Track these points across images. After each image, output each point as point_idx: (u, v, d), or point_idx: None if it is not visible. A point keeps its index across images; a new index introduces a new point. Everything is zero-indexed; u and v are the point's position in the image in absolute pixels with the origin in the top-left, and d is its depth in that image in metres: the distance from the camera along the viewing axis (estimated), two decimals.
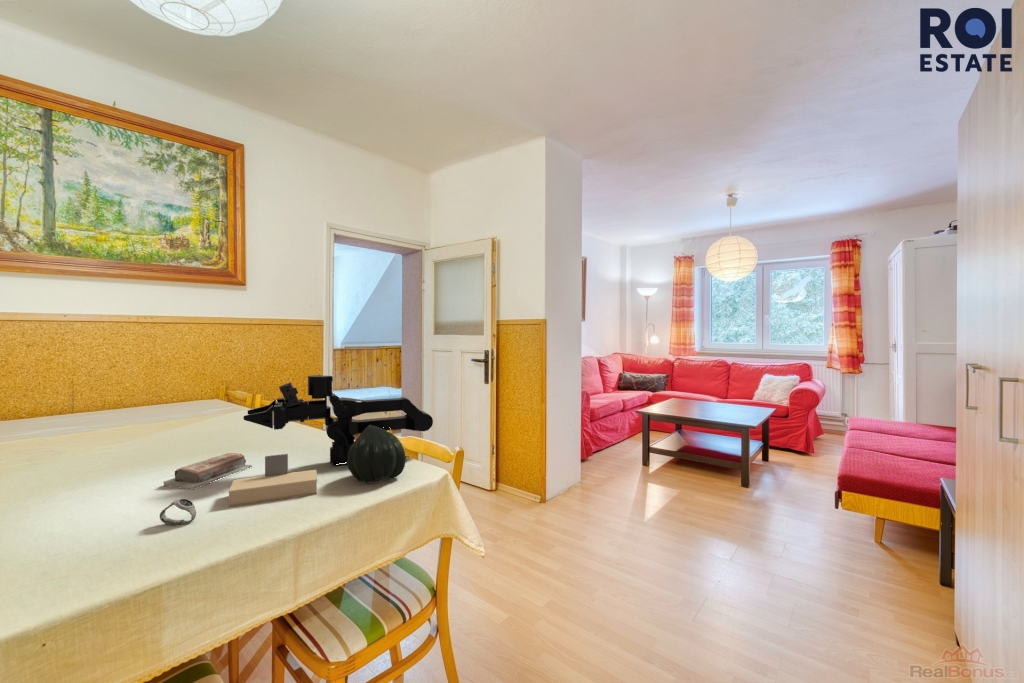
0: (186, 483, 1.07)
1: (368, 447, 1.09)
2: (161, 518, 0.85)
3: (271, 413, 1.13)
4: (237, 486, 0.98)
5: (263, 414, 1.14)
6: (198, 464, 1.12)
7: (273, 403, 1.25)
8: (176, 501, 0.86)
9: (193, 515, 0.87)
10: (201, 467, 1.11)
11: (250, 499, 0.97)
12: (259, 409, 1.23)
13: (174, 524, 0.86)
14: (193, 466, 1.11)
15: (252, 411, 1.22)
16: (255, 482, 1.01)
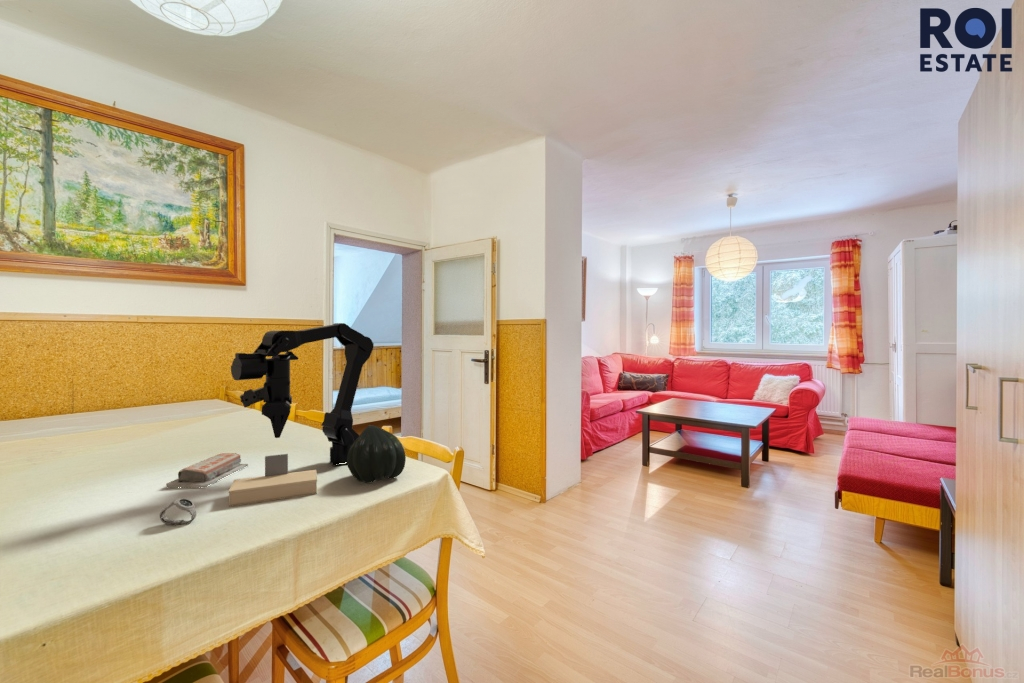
0: (193, 483, 1.08)
1: (368, 447, 1.09)
2: (161, 518, 0.85)
3: (271, 414, 1.06)
4: (237, 486, 0.98)
5: (273, 421, 1.08)
6: (200, 464, 1.12)
7: None
8: (176, 501, 0.86)
9: (193, 515, 0.87)
10: (206, 467, 1.11)
11: (250, 499, 0.97)
12: None
13: (174, 524, 0.86)
14: (196, 466, 1.11)
15: None
16: (255, 482, 1.01)
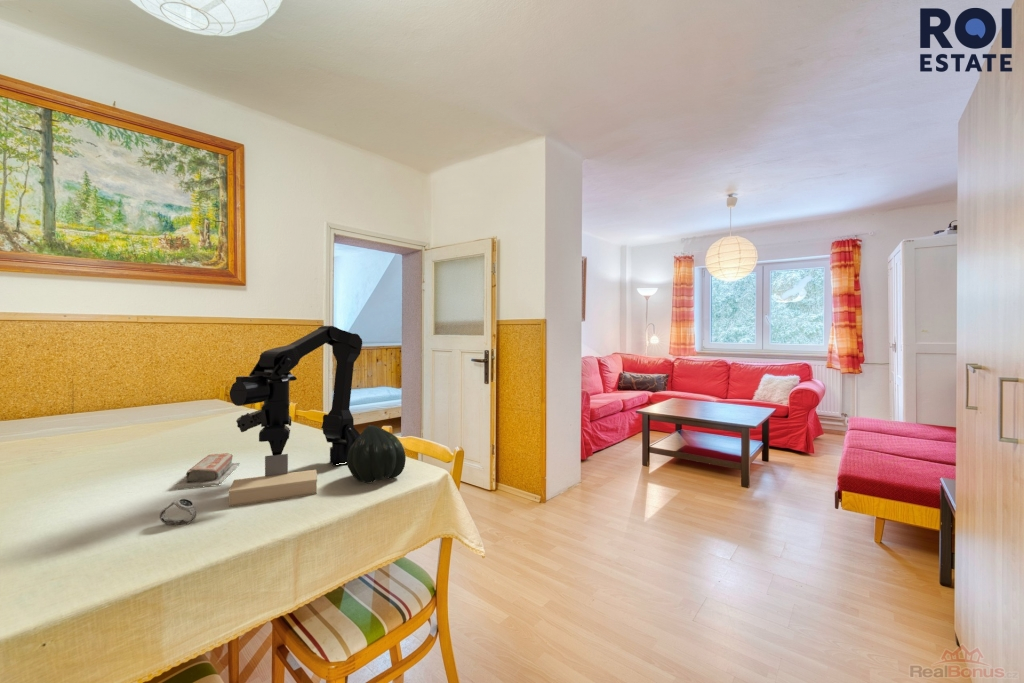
0: (204, 482, 1.08)
1: (368, 447, 1.09)
2: (161, 518, 0.85)
3: None
4: (237, 486, 0.98)
5: (271, 444, 1.05)
6: (203, 464, 1.12)
7: None
8: (176, 501, 0.86)
9: (193, 515, 0.87)
10: (213, 466, 1.12)
11: (250, 499, 0.97)
12: None
13: (174, 524, 0.86)
14: (202, 466, 1.11)
15: None
16: (255, 482, 1.01)
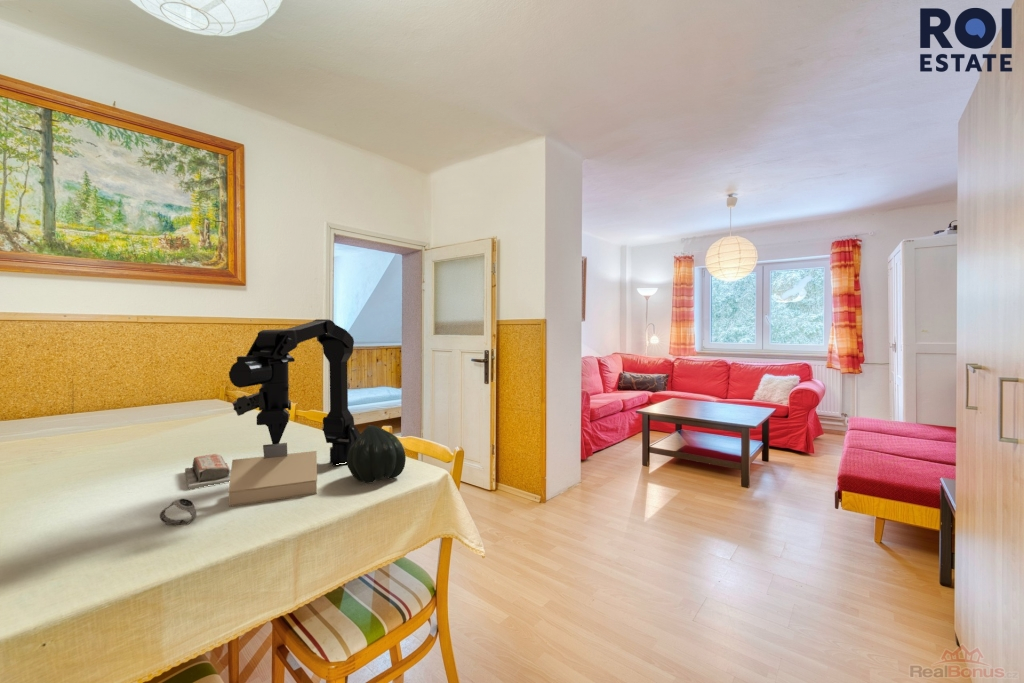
0: (217, 480, 1.10)
1: (368, 447, 1.09)
2: (161, 518, 0.85)
3: None
4: (236, 480, 0.97)
5: (270, 428, 1.00)
6: (208, 464, 1.12)
7: None
8: (176, 501, 0.86)
9: (193, 515, 0.87)
10: (220, 464, 1.13)
11: (250, 499, 0.97)
12: None
13: (174, 524, 0.86)
14: (209, 466, 1.11)
15: (274, 441, 1.02)
16: (255, 472, 1.00)
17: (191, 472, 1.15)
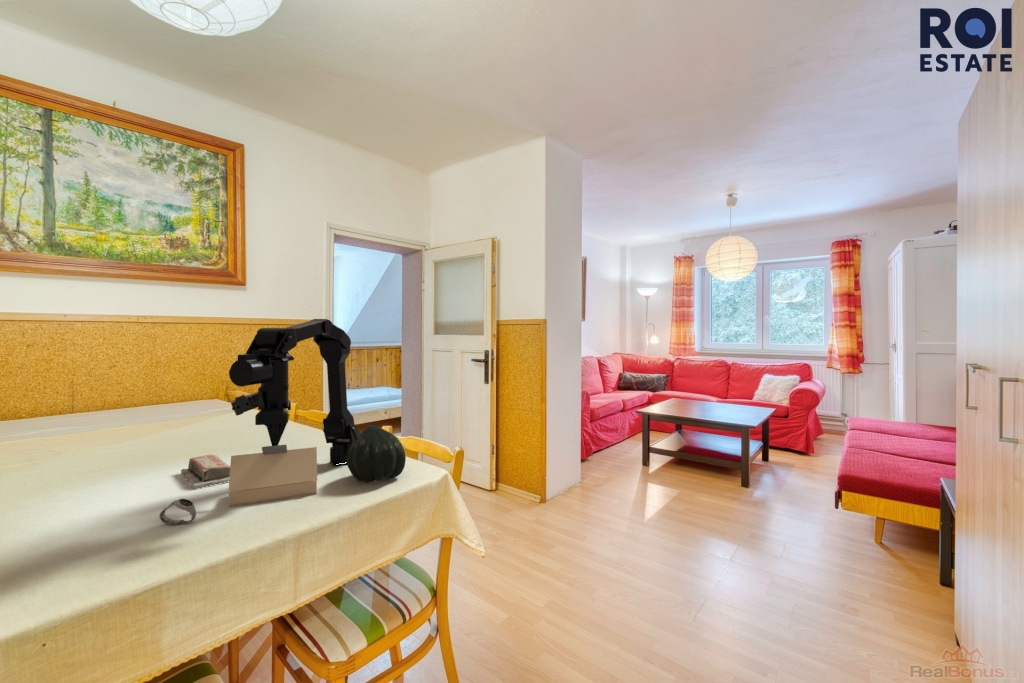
0: (221, 479, 1.11)
1: (368, 447, 1.09)
2: (161, 518, 0.85)
3: None
4: (236, 479, 0.97)
5: (269, 428, 0.97)
6: (209, 464, 1.13)
7: None
8: (176, 501, 0.86)
9: (193, 515, 0.87)
10: (222, 464, 1.14)
11: (250, 499, 0.97)
12: None
13: (174, 524, 0.86)
14: (212, 465, 1.12)
15: None
16: (254, 470, 0.99)
17: (189, 473, 1.15)
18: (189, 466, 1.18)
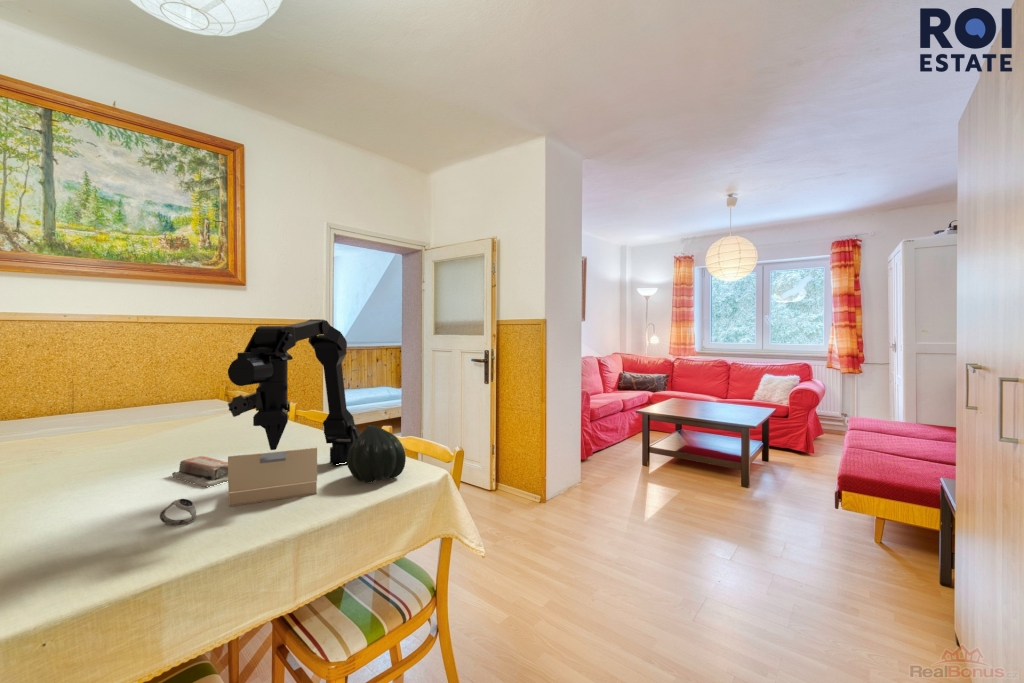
0: None
1: (368, 447, 1.09)
2: (161, 518, 0.85)
3: None
4: (235, 480, 0.95)
5: (268, 431, 0.93)
6: (213, 463, 1.13)
7: None
8: (176, 501, 0.86)
9: (193, 515, 0.87)
10: (226, 462, 1.15)
11: (250, 499, 0.97)
12: None
13: (174, 524, 0.86)
14: (218, 464, 1.13)
15: None
16: (253, 471, 0.97)
17: (186, 475, 1.13)
18: (181, 469, 1.16)
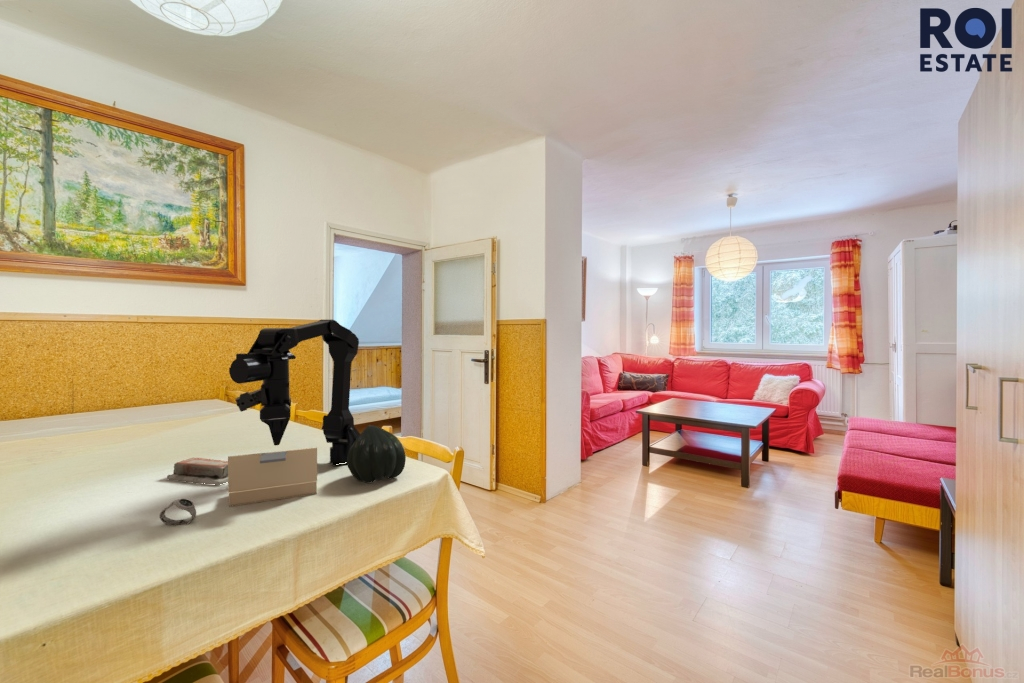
0: None
1: (368, 447, 1.09)
2: (161, 518, 0.85)
3: (269, 420, 0.97)
4: (235, 480, 0.95)
5: (271, 427, 0.99)
6: (216, 463, 1.14)
7: None
8: (176, 501, 0.86)
9: (193, 515, 0.87)
10: None
11: (250, 499, 0.97)
12: None
13: (174, 524, 0.86)
14: (222, 463, 1.13)
15: None
16: (253, 471, 0.97)
17: (185, 476, 1.12)
18: (176, 471, 1.14)
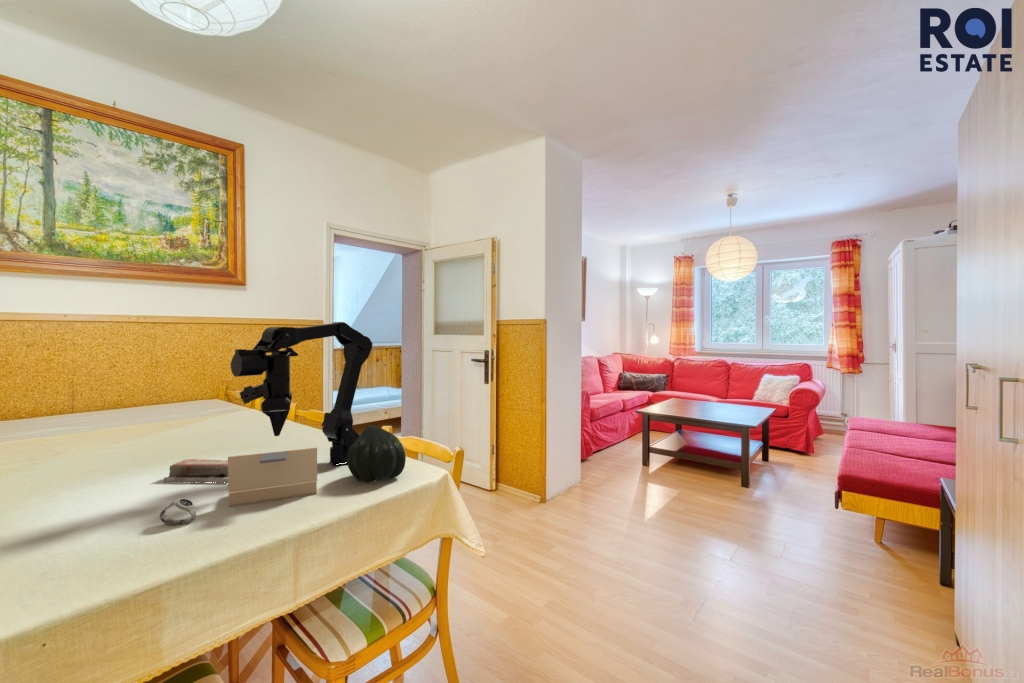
0: None
1: (368, 447, 1.09)
2: (161, 518, 0.85)
3: (270, 412, 1.04)
4: (235, 480, 0.95)
5: (272, 419, 1.06)
6: (218, 462, 1.14)
7: None
8: (176, 501, 0.86)
9: (193, 515, 0.87)
10: None
11: (250, 499, 0.97)
12: None
13: (174, 524, 0.86)
14: (225, 462, 1.14)
15: None
16: (253, 471, 0.97)
17: (185, 477, 1.11)
18: (172, 473, 1.12)
